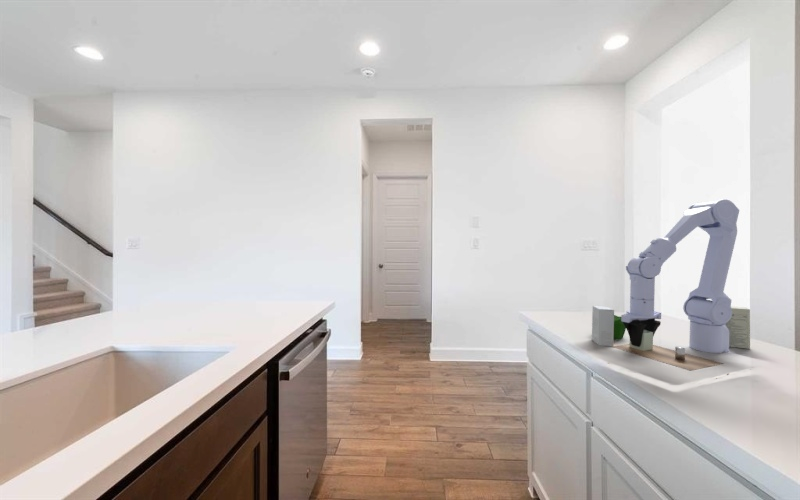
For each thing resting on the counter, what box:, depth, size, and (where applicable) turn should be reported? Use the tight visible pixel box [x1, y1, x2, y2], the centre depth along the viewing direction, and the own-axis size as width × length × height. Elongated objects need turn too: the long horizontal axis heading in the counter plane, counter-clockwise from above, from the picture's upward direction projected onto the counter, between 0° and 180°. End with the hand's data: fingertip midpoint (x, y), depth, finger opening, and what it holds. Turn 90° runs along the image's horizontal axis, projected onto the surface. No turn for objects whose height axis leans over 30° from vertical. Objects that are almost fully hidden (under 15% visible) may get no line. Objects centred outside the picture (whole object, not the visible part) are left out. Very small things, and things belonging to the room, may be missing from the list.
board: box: [611, 343, 724, 371], centre depth 93 cm, size 14×20×1 cm
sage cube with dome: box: [629, 330, 654, 351], centre depth 98 cm, size 4×4×5 cm
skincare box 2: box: [725, 306, 751, 350], centre depth 105 cm, size 6×4×12 cm
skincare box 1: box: [591, 305, 615, 347], centre depth 104 cm, size 6×4×12 cm
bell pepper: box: [614, 314, 627, 340], centre depth 111 cm, size 8×8×10 cm
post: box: [674, 346, 686, 360], centre depth 89 cm, size 2×2×3 cm
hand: (641, 345), depth 98 cm, fingers closed on sage cube with dome, 4 cm apart
